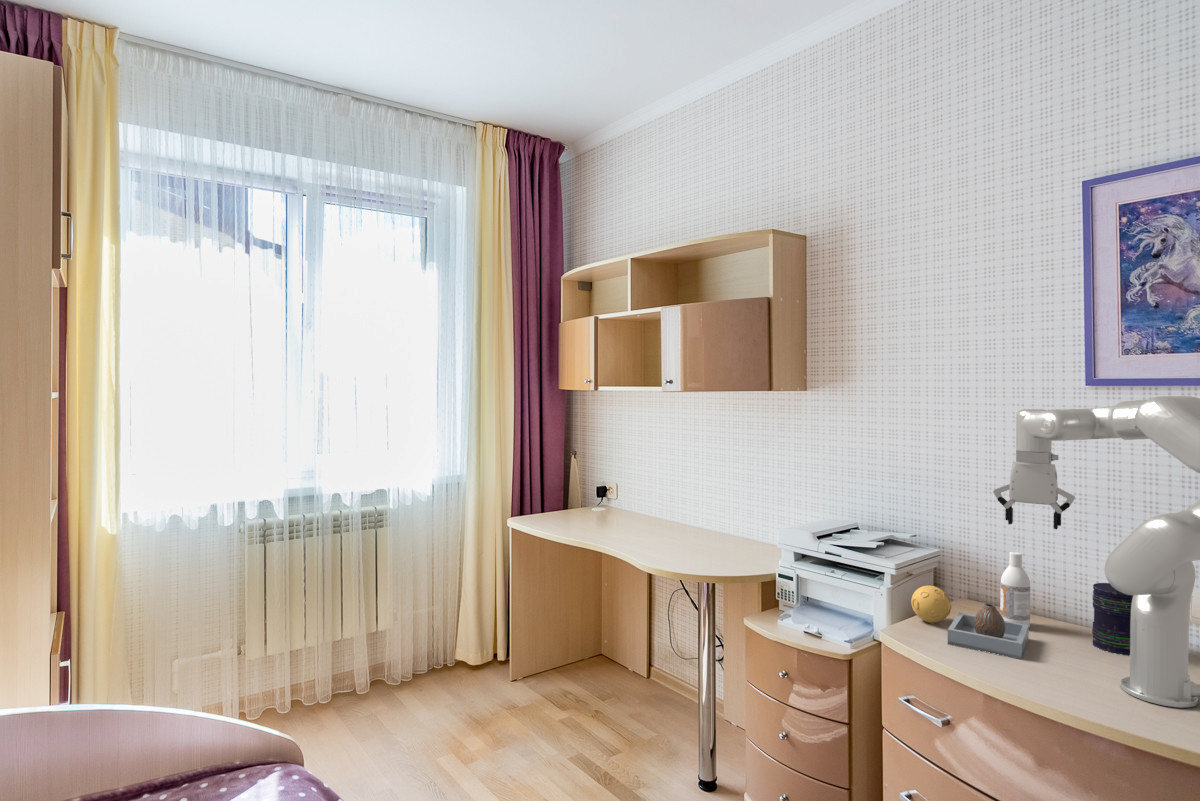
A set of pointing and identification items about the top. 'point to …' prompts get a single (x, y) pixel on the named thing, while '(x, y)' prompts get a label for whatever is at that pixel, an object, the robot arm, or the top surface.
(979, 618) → the vase
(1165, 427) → the robot arm
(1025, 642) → the bin
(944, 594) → the stress ball
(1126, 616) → the storage jar
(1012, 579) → the bath foam
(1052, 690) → the top surface
